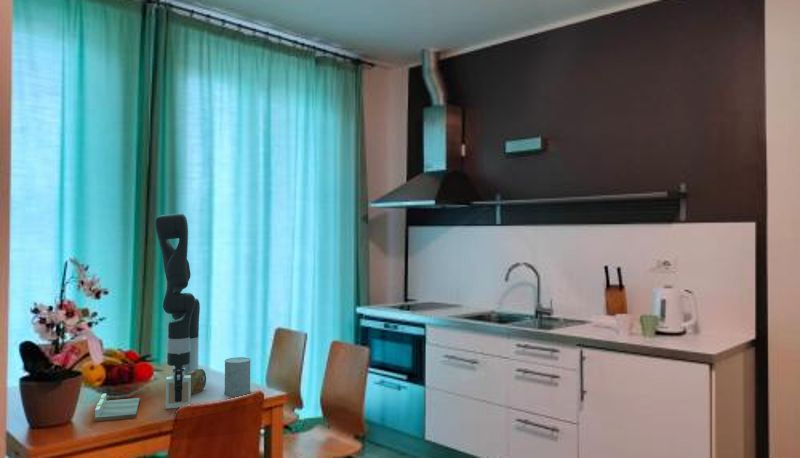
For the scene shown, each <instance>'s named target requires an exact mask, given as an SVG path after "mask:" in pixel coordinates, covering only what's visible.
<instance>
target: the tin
mask: <svg viewBox="0 0 800 458" xmlns="http://www.w3.org/2000/svg"><path fill="white" fill-rule="evenodd" d="M185 375H191V397H193V396H194V395H196V394H199V393H200V392H202V391H203V390H204V388H205V386H206V384H207V374H206V372H205V370H204V369H202V368H200V369H199V368H198V369H196V370H193V371H191V372H189V373H186V374H184V376H185Z"/></svg>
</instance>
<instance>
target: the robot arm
mask: <svg viewBox="0 0 800 458" xmlns="http://www.w3.org/2000/svg"><path fill="white" fill-rule="evenodd" d="M154 225H155V231H156V235H157V238H158V244H159V246H160V250H161V255H162V261H163V268H164V274H165V279H166V289H165V290H166V291H165V294H164V298H163V300H162V301H163V302H162V309H163V311H164V312H165V313H166V314H169V315H171V317H172V319H173V320H171V321H169V322H168V326H167V327H168V332H167V333H168V336H167V337H168V339H167V346H166V347H167V351H166V352H167V354H166V355H167V356H166V359H167V362H166V363H167V365H168V366H171V367H173V366H174V368H173V369H172V376H173V383H174V384H175V388H174V390H175V402H181V401H182V389H183V387H182V384H183V383H184V374H186V373H189V372H191V371H193V370H196V369H199V351H200V350H199V348H200V347H199V346H200V345H199V342H200V341H199V337H200V334H199V332H200V331H199V330H200V313H201V312H200V311H201V306H200V305H201V304H200V300H199V299H198V298H195V296H194V294H193V293H192V292H182V291H183V290H185V289H186V288H187V287H188V286H189V281H190V278H191V268H190V263H189V260H188V249H189V247H188V246H189V227H188V226H189V225H188V220H187V217H186V215H185V214H184V213H172V214H162V215H158V216H156V218H155V223H154ZM175 239H178V244H177V245H176V247H174V245H173V243H172V242H171V240H175ZM178 384H180V385H181V386H180V387H176V385H178Z"/></svg>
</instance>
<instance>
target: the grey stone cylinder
mask: <svg viewBox="0 0 800 458" xmlns="http://www.w3.org/2000/svg"><path fill="white" fill-rule="evenodd" d="M251 360H252V359H251V358H249V357H243V356H240V357H239V356H237V357H229V358H226V359H225V360H224V395H226V396H229V397H230V396H231V397H232V396H233V397H237V396H238V395H239V396H243V395H242V394H245V395H247V394H246V393H248V394H250V393H251ZM249 392H250V393H249Z"/></svg>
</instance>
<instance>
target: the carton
mask: <svg viewBox="0 0 800 458" xmlns="http://www.w3.org/2000/svg"><path fill="white" fill-rule="evenodd" d="M165 378H166V379H165V381H166V382H165V410H166V409H177V408H178V407H179V408H181V407H180V406H183V405H188V404H191V399H192V398H191V397H192V396H191V375H185V376H184V383H183V384H182V387H183V389H182V401H181V402H175V390H174V388H175V384H174V383H173V375H172V376H166V377H165ZM180 386H181V385H180V384H178V385H176V387H180Z"/></svg>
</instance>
